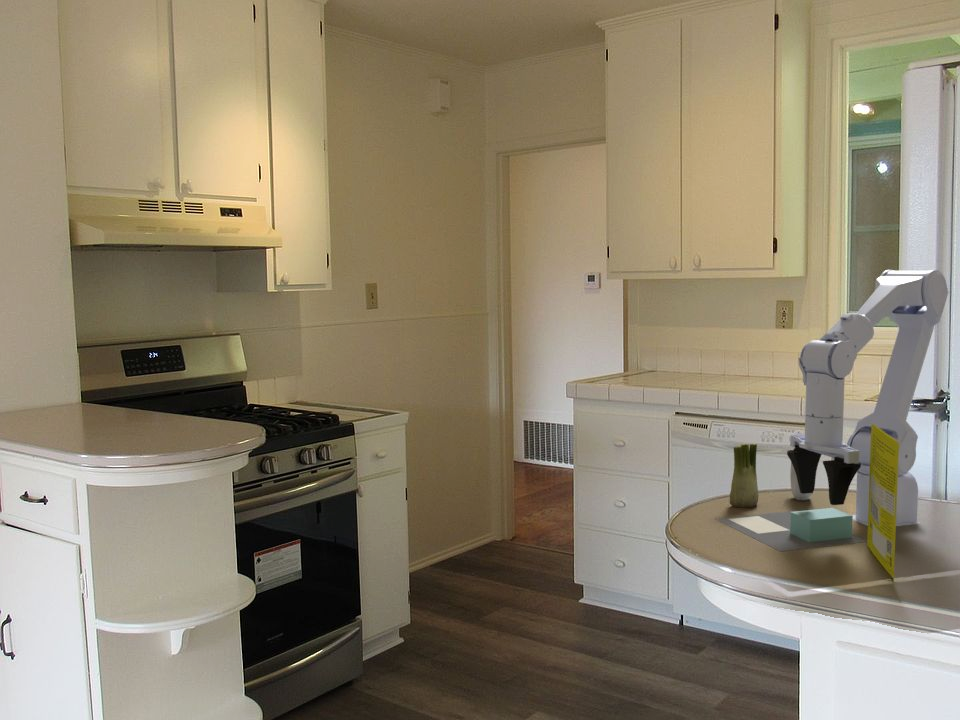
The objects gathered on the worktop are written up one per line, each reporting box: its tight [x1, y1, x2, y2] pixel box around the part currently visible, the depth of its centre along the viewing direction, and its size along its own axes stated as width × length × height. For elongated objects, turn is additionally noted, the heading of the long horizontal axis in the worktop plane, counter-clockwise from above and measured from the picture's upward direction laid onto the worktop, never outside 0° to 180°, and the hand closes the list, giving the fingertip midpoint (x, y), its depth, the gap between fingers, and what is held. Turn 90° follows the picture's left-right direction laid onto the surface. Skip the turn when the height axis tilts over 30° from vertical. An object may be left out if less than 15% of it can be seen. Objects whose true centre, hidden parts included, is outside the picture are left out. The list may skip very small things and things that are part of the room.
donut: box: [789, 461, 813, 502], centre depth 172 cm, size 10×3×10 cm, turn 168°
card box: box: [790, 507, 853, 542], centre depth 149 cm, size 8×5×4 cm, turn 107°
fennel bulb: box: [729, 443, 759, 509], centre depth 167 cm, size 6×5×12 cm
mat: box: [715, 510, 867, 552], centre depth 152 cm, size 16×19×1 cm
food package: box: [866, 424, 899, 584], centre depth 135 cm, size 15×1×20 cm, turn 170°
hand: (821, 498), depth 148 cm, fingers open, 7 cm apart
